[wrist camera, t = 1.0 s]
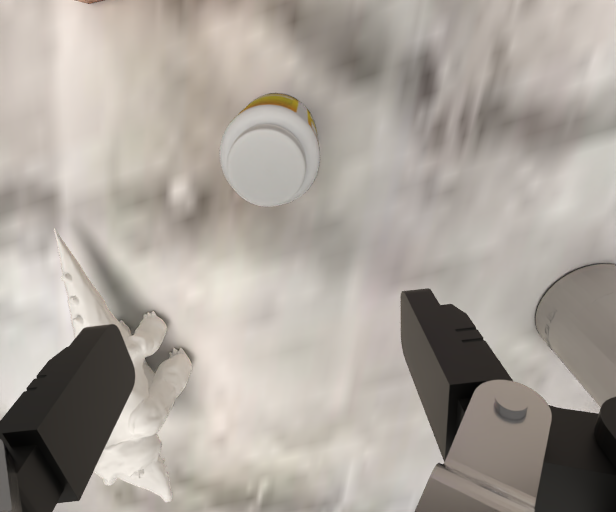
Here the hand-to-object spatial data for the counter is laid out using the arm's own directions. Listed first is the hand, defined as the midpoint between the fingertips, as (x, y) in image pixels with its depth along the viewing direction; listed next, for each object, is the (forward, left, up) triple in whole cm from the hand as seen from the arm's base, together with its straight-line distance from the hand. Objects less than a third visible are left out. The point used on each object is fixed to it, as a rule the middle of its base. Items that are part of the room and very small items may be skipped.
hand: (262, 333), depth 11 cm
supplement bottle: (0, -2, -21) cm, 21 cm away
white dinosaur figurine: (+16, +13, -21) cm, 29 cm away
